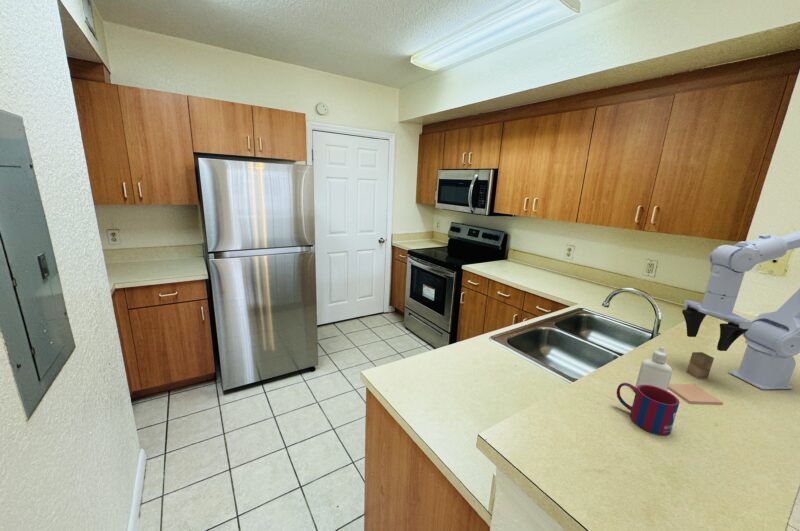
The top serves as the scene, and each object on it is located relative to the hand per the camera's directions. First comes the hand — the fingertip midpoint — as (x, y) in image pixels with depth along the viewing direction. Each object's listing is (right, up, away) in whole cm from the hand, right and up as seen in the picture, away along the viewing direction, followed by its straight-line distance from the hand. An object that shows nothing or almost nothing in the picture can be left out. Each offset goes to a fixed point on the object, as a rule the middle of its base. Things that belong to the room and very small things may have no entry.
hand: (705, 343), depth 84 cm
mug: (-29, -12, -16) cm, 36 cm away
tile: (-6, -11, -7) cm, 14 cm away
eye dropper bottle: (-21, -10, -7) cm, 24 cm away
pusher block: (0, -9, +2) cm, 9 cm away
